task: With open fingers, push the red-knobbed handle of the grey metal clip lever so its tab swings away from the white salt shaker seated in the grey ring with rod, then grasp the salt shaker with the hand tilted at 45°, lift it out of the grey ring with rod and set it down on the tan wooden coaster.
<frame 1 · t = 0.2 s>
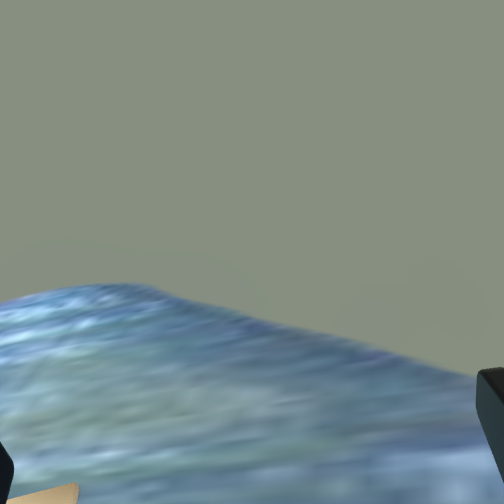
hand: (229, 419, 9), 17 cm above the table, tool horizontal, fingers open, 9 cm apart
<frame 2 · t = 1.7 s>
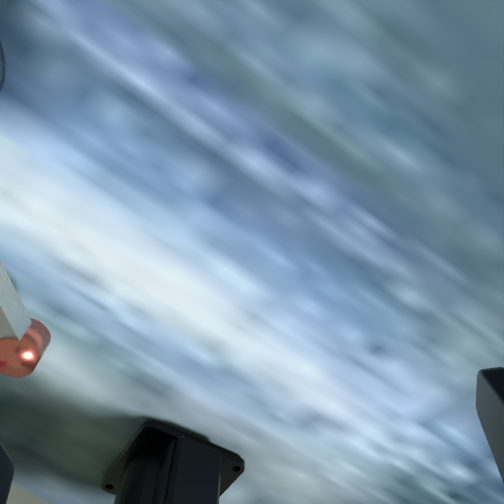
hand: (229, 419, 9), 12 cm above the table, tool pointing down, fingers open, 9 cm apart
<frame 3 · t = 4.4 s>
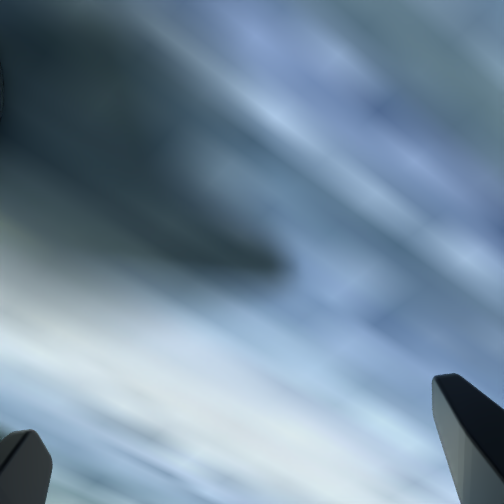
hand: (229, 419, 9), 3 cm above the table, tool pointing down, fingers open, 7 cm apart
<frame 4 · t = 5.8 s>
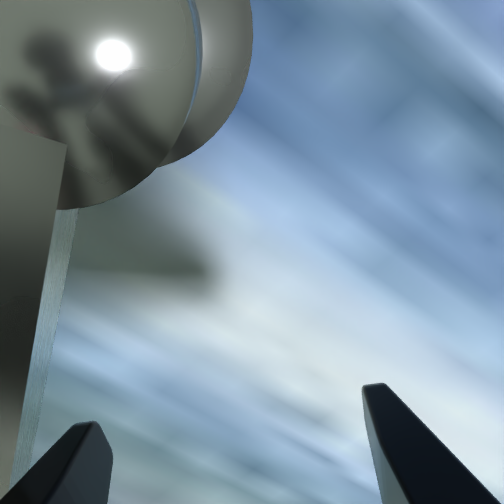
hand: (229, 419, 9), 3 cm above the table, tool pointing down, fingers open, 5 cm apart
clip: (10, 306, 7), point 4 cm above the table, hinge at 31.4°, touching gripper
clip post: (117, 32, 8), on the table
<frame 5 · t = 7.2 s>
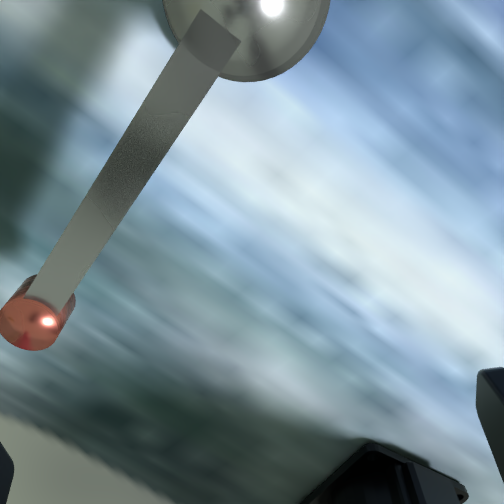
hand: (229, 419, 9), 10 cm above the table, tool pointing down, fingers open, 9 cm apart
clip: (160, 121, 12), point 4 cm above the table, hinge at 47.5°
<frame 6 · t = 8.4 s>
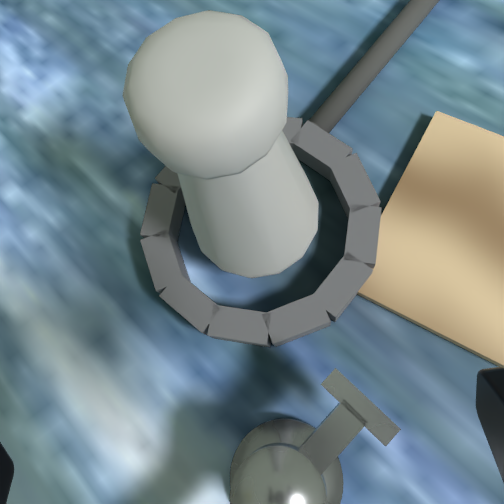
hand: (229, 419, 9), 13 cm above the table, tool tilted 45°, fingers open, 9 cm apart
salt shaker: (261, 232, 24), resting in grey ring with rod
coaster: (491, 243, 22), on the table
grey ring with rod: (261, 231, 24), on the table
clip post: (286, 476, 21), on the table
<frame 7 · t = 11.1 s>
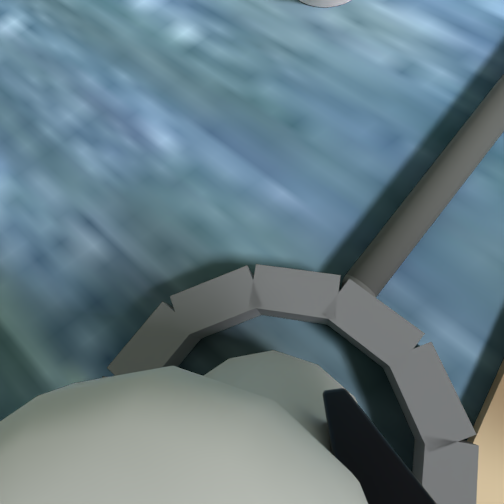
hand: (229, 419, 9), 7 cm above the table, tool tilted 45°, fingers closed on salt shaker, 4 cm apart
salt shaker: (275, 449, 15), resting in grey ring with rod, touching gripper
grey ring with rod: (275, 450, 15), on the table
when the fingers open (8 cm above the table, at t = 14.0 s): salt shaker stays where it is, resting on coaster.
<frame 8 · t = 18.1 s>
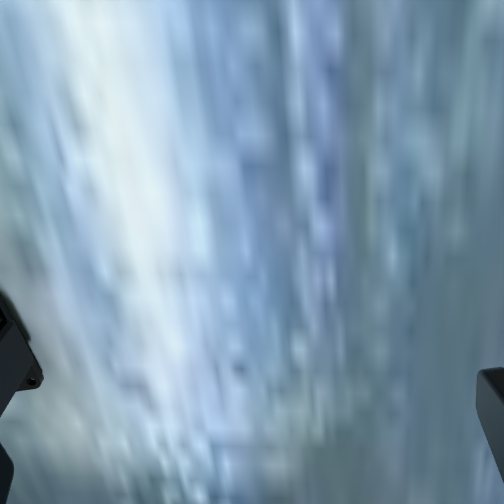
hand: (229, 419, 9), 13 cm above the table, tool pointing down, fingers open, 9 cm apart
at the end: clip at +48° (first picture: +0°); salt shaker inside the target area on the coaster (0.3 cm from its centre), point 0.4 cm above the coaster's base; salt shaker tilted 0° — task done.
